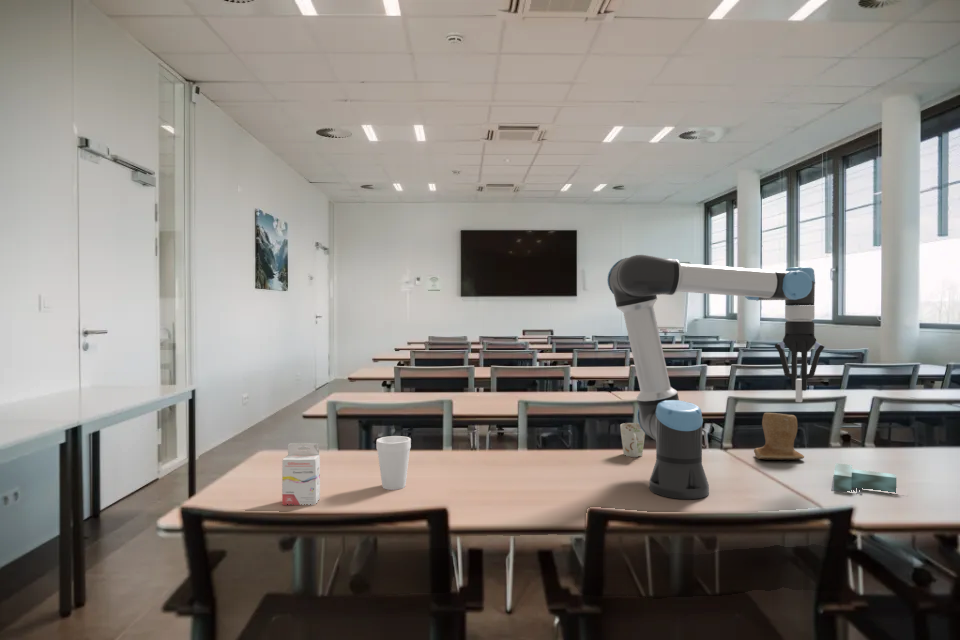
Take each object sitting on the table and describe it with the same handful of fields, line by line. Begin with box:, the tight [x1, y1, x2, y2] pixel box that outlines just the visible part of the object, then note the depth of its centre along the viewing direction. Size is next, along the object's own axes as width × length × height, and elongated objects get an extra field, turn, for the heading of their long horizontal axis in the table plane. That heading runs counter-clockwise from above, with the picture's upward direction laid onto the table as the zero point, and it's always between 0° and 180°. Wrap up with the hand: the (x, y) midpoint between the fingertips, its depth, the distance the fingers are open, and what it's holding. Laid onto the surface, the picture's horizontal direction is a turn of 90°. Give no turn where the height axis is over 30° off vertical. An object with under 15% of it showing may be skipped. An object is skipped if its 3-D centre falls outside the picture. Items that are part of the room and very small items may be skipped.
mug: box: [619, 422, 646, 458], centre depth 196 cm, size 8×13×10 cm, turn 174°
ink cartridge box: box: [281, 442, 321, 506], centre depth 151 cm, size 9×5×15 cm, turn 92°
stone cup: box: [753, 412, 805, 461], centre depth 193 cm, size 15×12×15 cm
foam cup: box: [375, 435, 412, 491], centre depth 165 cm, size 10×9×13 cm
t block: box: [833, 462, 897, 493], centre depth 162 cm, size 14×14×4 cm
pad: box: [830, 474, 863, 496], centre depth 162 cm, size 17×17×1 cm
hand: (799, 401), depth 173 cm, fingers closed
